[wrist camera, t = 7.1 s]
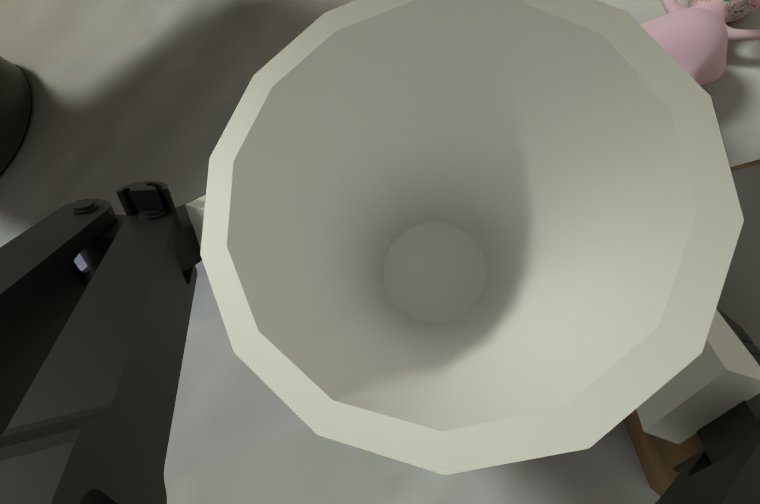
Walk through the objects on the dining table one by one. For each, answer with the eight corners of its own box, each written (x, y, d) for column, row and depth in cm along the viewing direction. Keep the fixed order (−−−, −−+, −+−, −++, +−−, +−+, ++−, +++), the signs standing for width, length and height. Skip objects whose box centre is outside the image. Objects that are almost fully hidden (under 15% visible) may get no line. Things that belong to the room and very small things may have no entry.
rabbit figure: (668, -15, 20) (534, 124, 18) (771, -156, 15) (596, 17, 12) (766, 27, 19) (634, 187, 16) (924, -113, 13) (761, 97, 10)
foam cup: (551, 255, 17) (870, 100, 5) (455, 390, 17) (515, 631, 4) (414, 171, 20) (376, -81, 7) (328, 287, 19) (121, 240, 7)
